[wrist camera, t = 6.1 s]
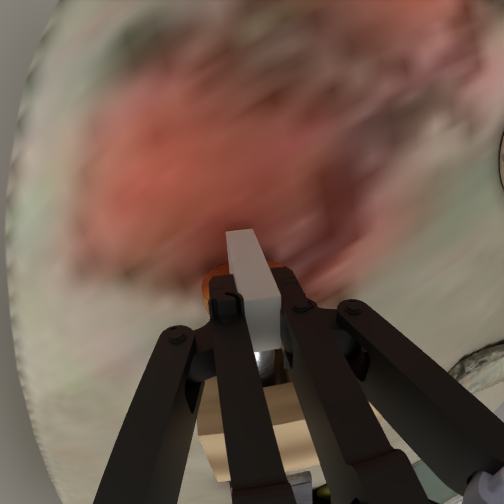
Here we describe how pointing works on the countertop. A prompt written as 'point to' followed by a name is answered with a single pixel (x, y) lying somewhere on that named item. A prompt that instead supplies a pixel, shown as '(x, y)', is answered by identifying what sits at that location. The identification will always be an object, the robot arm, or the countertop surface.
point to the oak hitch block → (282, 416)
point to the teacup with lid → (502, 161)
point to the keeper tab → (301, 487)
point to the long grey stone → (480, 369)
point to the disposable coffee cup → (435, 485)
